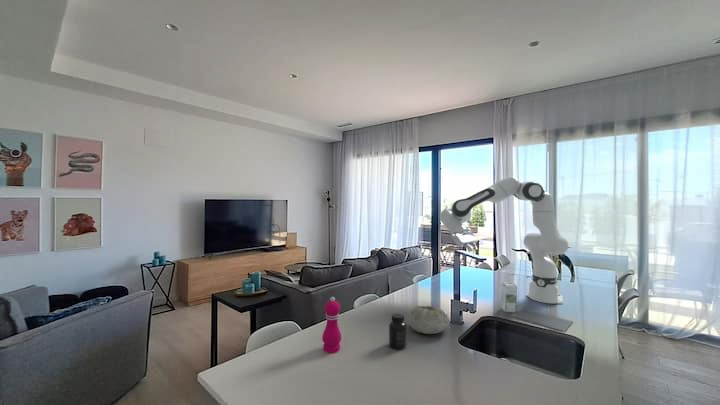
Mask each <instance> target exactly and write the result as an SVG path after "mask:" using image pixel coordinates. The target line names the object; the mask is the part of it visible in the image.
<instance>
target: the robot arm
mask: <svg viewBox="0 0 720 405" xmlns="http://www.w3.org/2000/svg"><path fill="white" fill-rule="evenodd" d="M511 196H514V197H515V198H516V199H517V200H520V201H521V200H522V201H530V203H531V206H532V212H531V213H532V223H533V226H535V228H537V229H538V230H539V232H532V233H527V234H526V235H524V239H523V245H524V246H525V247H526V248H527V249H528V251H529V253H530V255H531V258H532V264H533V266H532V267H533V268H532V269H533V271H532V272H533V273H532V276H531V277H532V278H531V280H532V281H531V282H529V284H528V293H526V294H525V296H526V297H528V298H529V299H531V300H532V301H535V302H539V303H544V304H557V305H558V304H559V305H562V304H563V302H564V300H563V299H564V296H563V295H561V294H560V293H559V291H560V290H559V289H560V288H559V286H558V285H557V275H556V263H555V262H554V261H553V260H552V259H551V258H550V256H549V255H555V256H556V255H557V256H558V255H564V254H566V253H567V252H568V249H569V242H568V240H567V239H566V238H565V237H564V236H563V235H562V234H561V233H560V231H559V229H558V227H557V224H556V216H555V204H554V199H553V196H552V194H550V193H549V192H546V191H545V190H544V187H543V186H542V184H540V183H539V182H536V181H522V182H520V181H519V180H518V178H517V177H515V176H507V177H505V178H503V179H501V180H499V181H497V182H495V183H493V184H492V185H490V186H488V187H487V188H485V189H484V188H483V189H482V190H480V191H478V192H476V193H475V194H472V195H470V196H469V197H466V198H461V199H457V200H456V201H454V202H453V203H452V207H450V208H444V209H443V210H442V211H441V212H440V213H439V221H441V223H442V224H443V226H444V227H445V228H446V229H448V232H449V233H450V234H451V237H452V240H453V241H454V243H455V244H456V246H457V247H459V248H462V247H464V248H466V249H467V250H468V251H469V252H473V251H478V250H479V249H478V246H477V245H476V244H477V243H478V242H479V239H478V237H477V236H476V235H475V234H474V232H473V231H471V230H472V229H471V228H470V227H468V226H465V225H464V223H466V222H468V221H469V220H470V219H471V217H472V210H473V208H475V207H477V206H478V205H480V204H483V203H485V202H490V203H492V204H493V203H494V204H497V203H500V202H503V201H504V200H506V199H508V198H510V197H511Z"/></svg>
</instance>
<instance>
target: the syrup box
mask: <svg viewBox="0 0 720 405" xmlns="http://www.w3.org/2000/svg"><path fill="white" fill-rule="evenodd" d="M500 300H501V306H500V309H501V310H503V311H504V312H505V313H515V314H516V313H517V307H518V306H517V304H518V302H517V301H518V285H517V283H516V284H515V283H514V282H507V281H506V282H505V281H504V282H501V298H500Z"/></svg>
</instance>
